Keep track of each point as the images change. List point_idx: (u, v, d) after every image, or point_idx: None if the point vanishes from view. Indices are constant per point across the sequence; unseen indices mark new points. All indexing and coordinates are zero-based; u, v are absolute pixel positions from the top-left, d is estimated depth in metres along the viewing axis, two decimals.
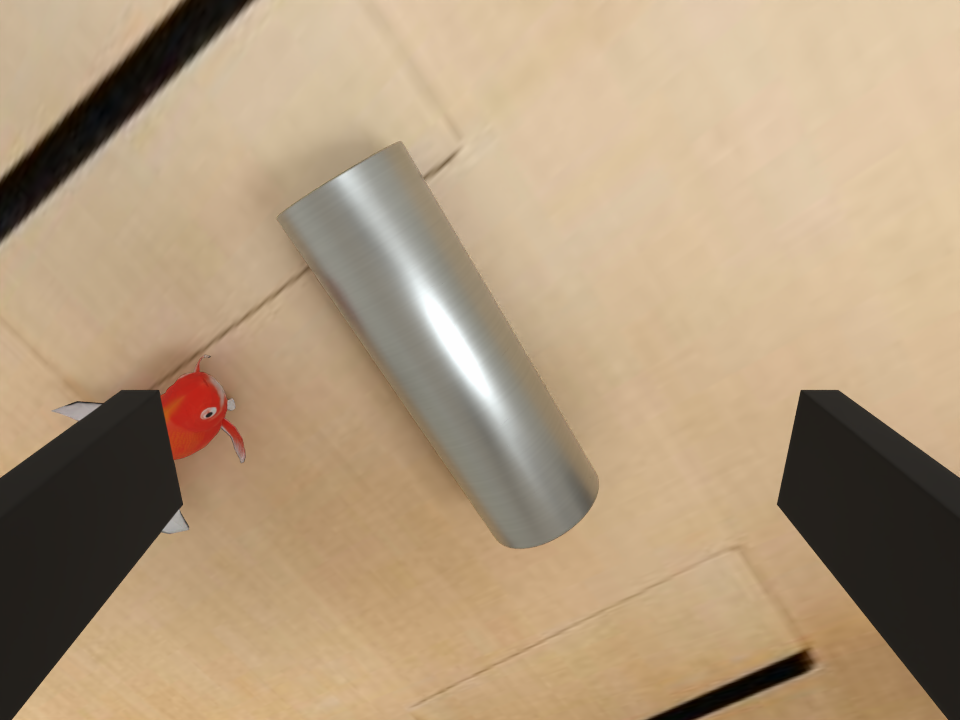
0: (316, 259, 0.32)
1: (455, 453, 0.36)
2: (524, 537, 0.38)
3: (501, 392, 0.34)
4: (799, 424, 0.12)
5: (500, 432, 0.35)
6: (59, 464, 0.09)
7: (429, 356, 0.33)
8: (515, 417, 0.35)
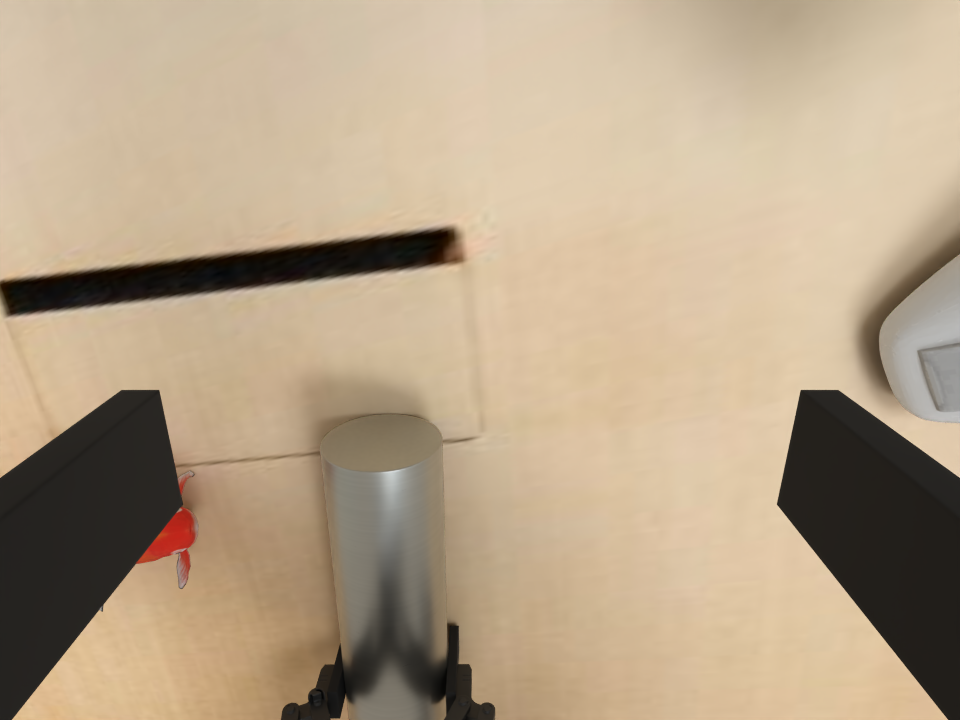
0: (336, 503, 0.39)
1: (357, 666, 0.43)
2: None
3: (416, 644, 0.43)
4: (799, 424, 0.12)
5: (400, 671, 0.43)
6: (59, 464, 0.09)
7: (380, 605, 0.41)
8: (416, 663, 0.43)
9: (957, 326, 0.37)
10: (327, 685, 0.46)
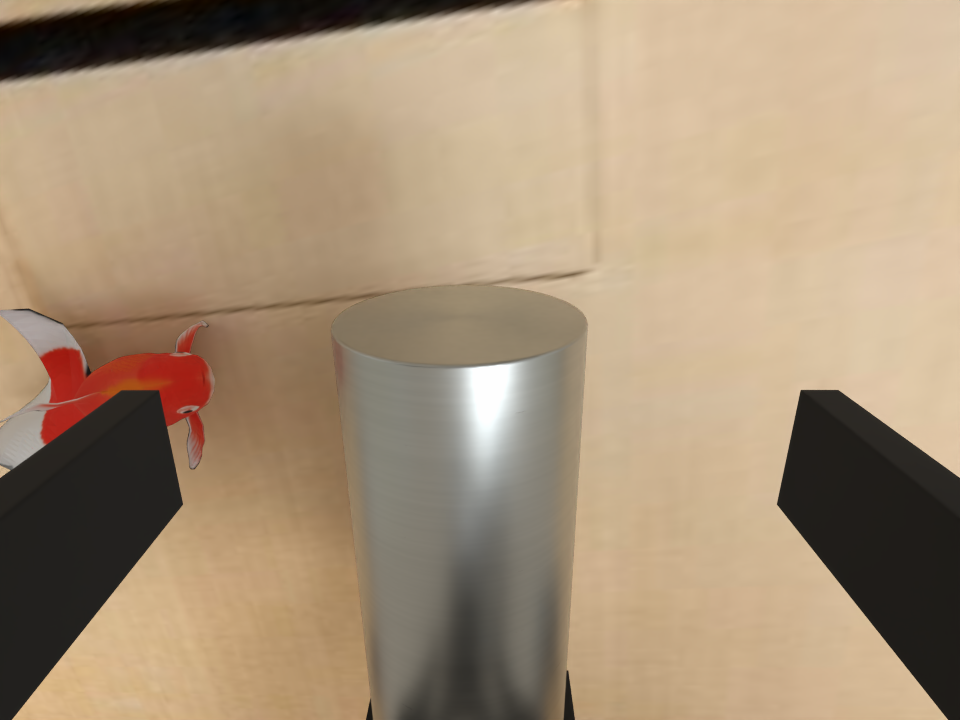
0: (367, 444, 0.18)
1: None
2: None
3: None
4: (799, 424, 0.12)
5: None
6: (59, 464, 0.09)
7: (457, 659, 0.20)
8: None
9: None
10: None
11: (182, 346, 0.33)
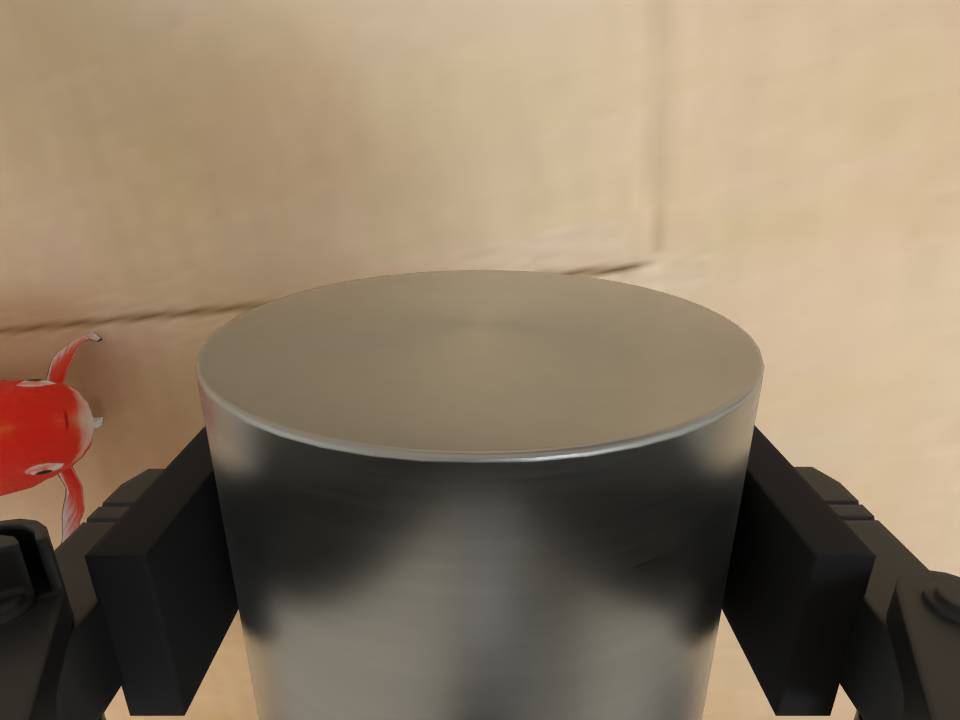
0: (268, 622, 0.08)
1: None
2: None
3: None
4: None
5: None
6: None
7: None
8: None
9: None
10: None
11: (56, 369, 0.23)
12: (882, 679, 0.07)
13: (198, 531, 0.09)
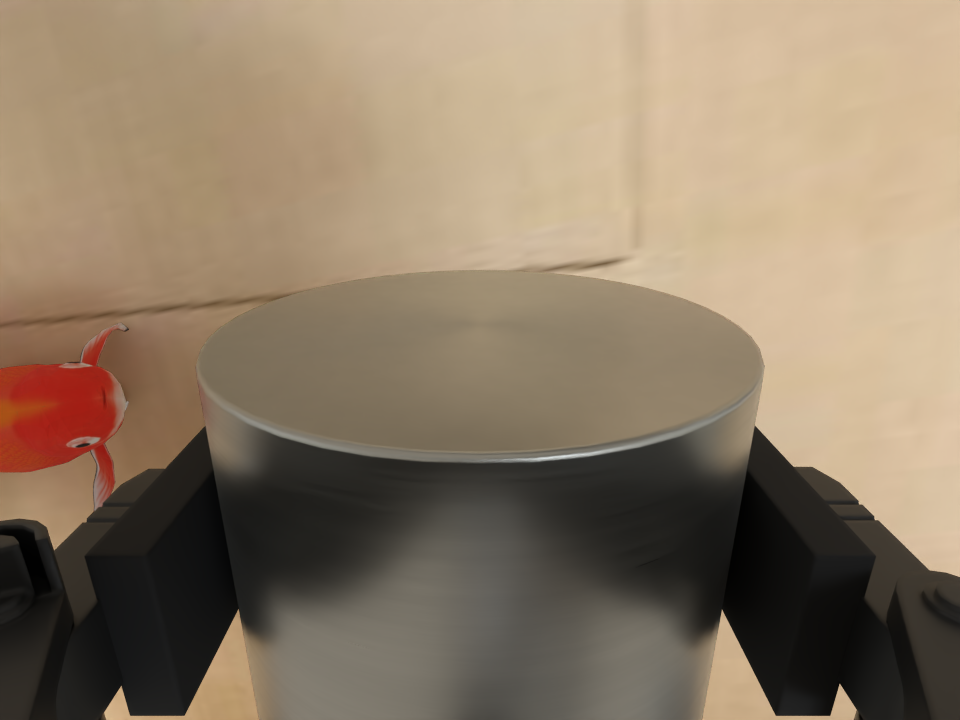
0: (269, 623, 0.08)
1: None
2: None
3: None
4: None
5: None
6: None
7: None
8: None
9: None
10: None
11: (88, 356, 0.25)
12: (882, 680, 0.07)
13: (197, 531, 0.09)
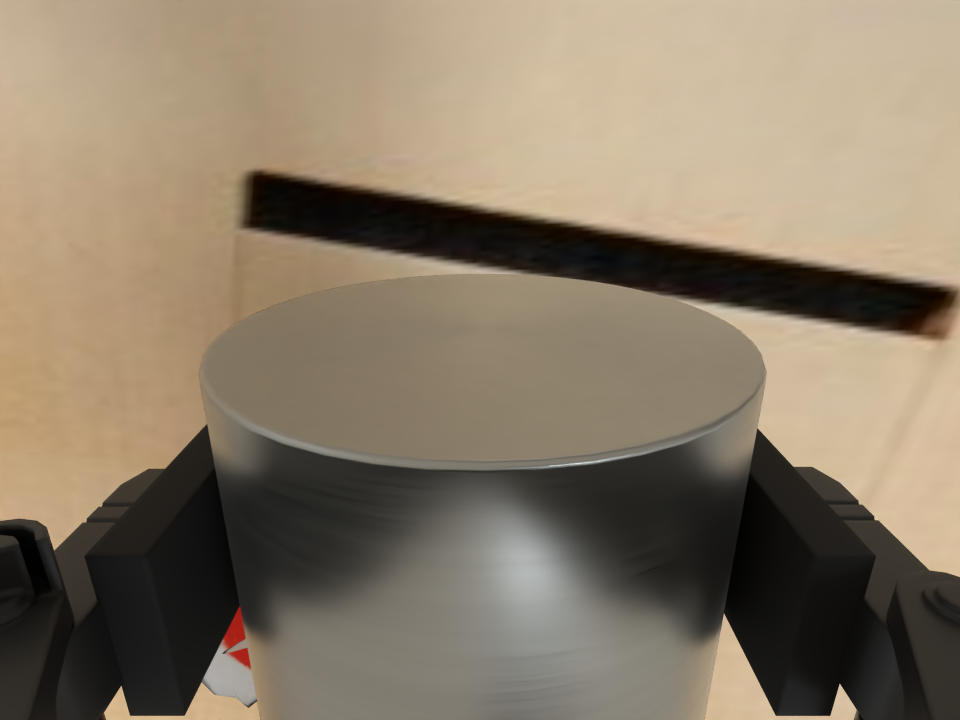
0: (271, 628, 0.08)
1: None
2: None
3: None
4: None
5: None
6: None
7: None
8: None
9: None
10: None
11: None
12: (882, 679, 0.07)
13: (198, 531, 0.09)
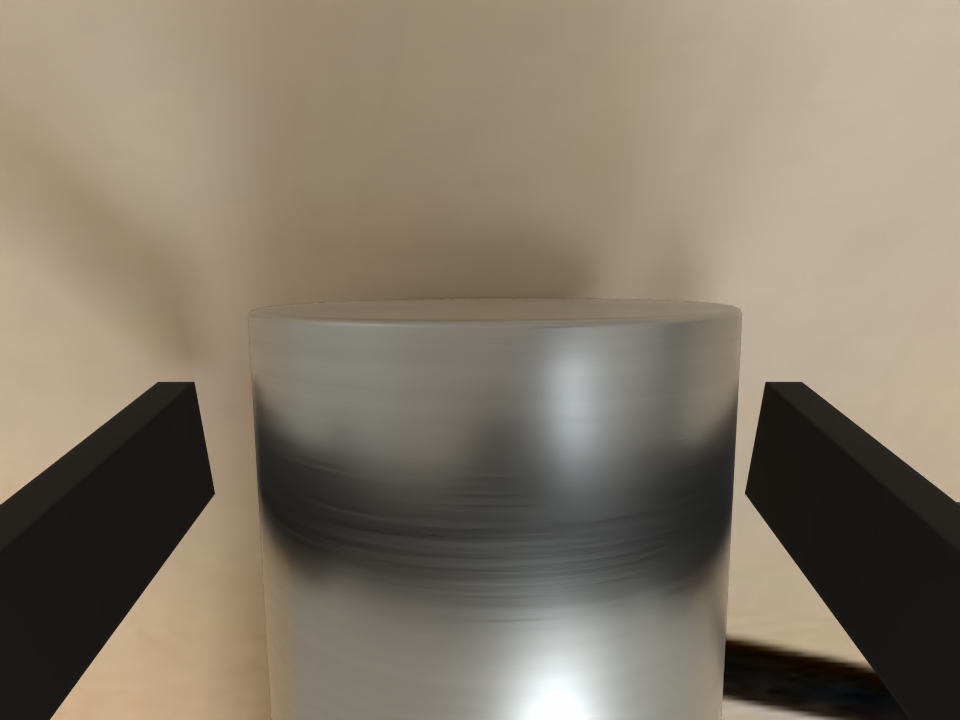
0: (328, 548, 0.08)
1: None
2: None
3: None
4: (764, 415, 0.12)
5: None
6: (108, 451, 0.10)
7: None
8: None
9: None
10: None
11: None
12: None
13: (19, 583, 0.08)
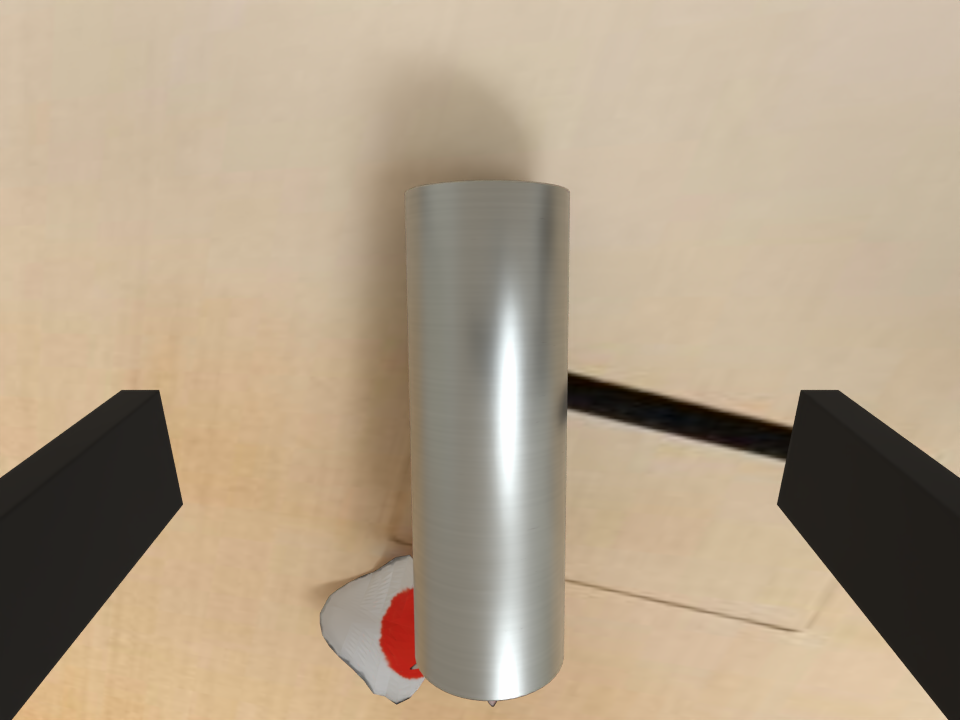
0: (441, 250, 0.27)
1: (457, 542, 0.28)
2: (476, 683, 0.29)
3: (546, 493, 0.29)
4: (799, 424, 0.12)
5: (524, 538, 0.28)
6: (59, 464, 0.09)
7: (502, 414, 0.27)
8: (545, 529, 0.29)
9: None
10: None
11: None
12: None
13: None
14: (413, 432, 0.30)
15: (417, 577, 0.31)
